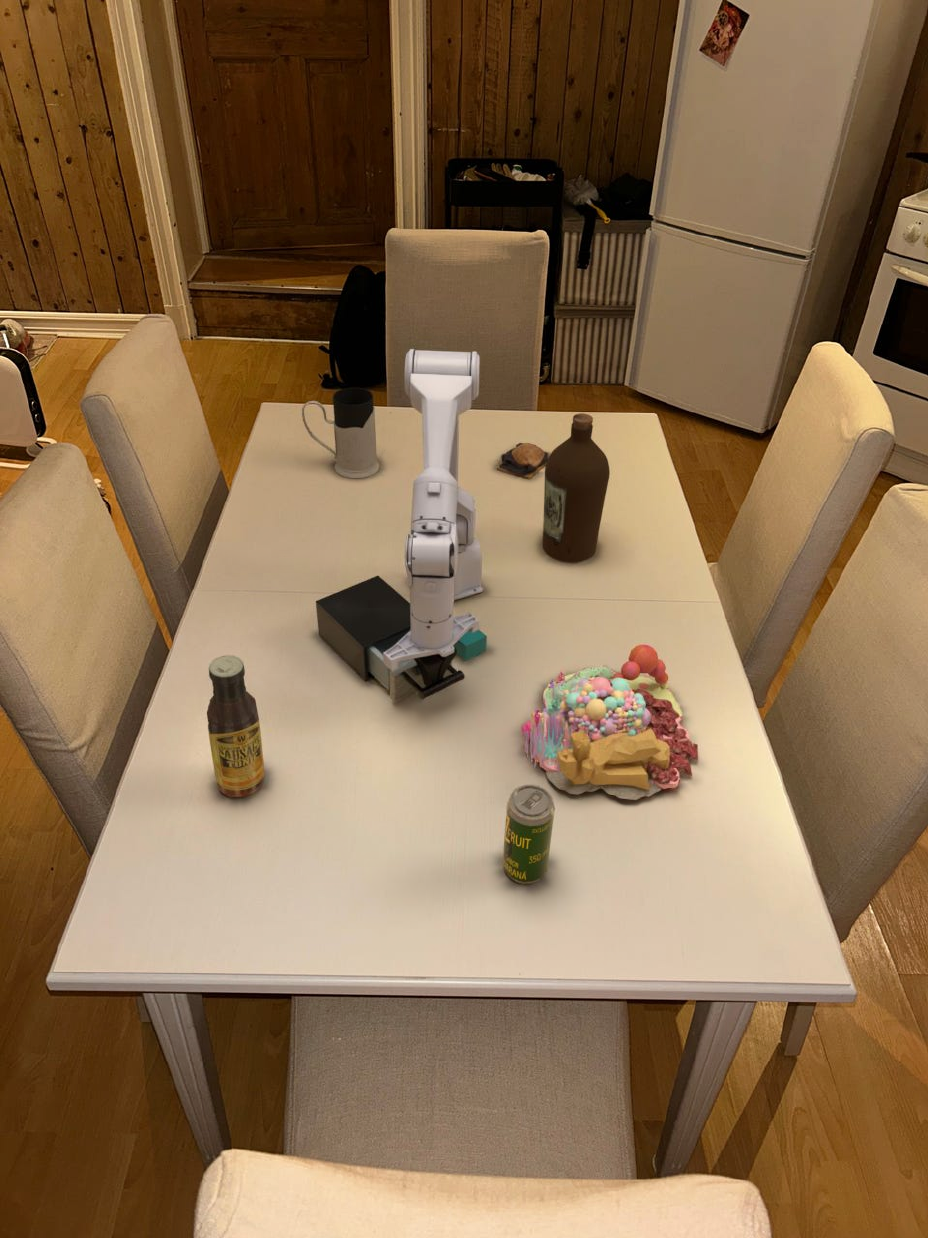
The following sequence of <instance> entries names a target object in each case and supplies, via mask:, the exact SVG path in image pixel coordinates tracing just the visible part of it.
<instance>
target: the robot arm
mask: <svg viewBox="0 0 928 1238" xmlns="http://www.w3.org/2000/svg"><path fill="white" fill-rule="evenodd" d="M480 367H481V355H479V353H478V352H477V351H472V352H471V351H470V352H469V351H445V350H423V349H422V350H418V349H416V350H415V349H414V348H410V349H409V351H407V353H405V359H404V393H405V394H406V395H407V396H408V398H409V399H410V405H411V407H412V408H413V409H414V410H416V411H418V413H419V414H421V416H422V417H421V420H422V421H421V423H422V424H421V426H422V427H421V428H422V458H423V470H422V471H421V472H420V473H419V474H418V475H417V476H416V477H415V478H414V480H413V482H412V483H413V484H412V499H411V518H410V531H409V532H410V533H407V534H406V539H405V544H404V545H405V546H404V566H405V572H406V576H407V577H406V578H407V587H408V588H409V603H410V621H411V630H410V631H409V632H408V633H407V634H406V635H405V636H404V637H403V638H402V639H401V640H400V641H398V642H397V643H396V644H395V645H394V646H393V647H392V648H390V649H389V650H387V651H385V652H383V660H384V664H385V665H386V666H387V667H388V668H389V669H390V670H391V671H393V670H395V669H397V668H398V664H399V663H401V662H404V661H406V660H408V659H413V658H414V660H415V662H416V663H417V665H418V667H419V670H420V672H421V675H422V678H423V682H424V685H426V686H428V685H430V684H432V683H434V682H436V681H438V680H440V679H442V678H443V676H444V674H445V672H446V669H447V668H448V666H449V664H450V663H451V661H452V662H453V660H454V659H455V658H456V657H457V655H458V654H457V649H456V647H455V646H453V645H454V644H455V643H456V642H457V641H458V640H459V639H460V638H461V637H462V636H463V635H464V634H465V633H466V632H467V631H470V632H475V631H477V630H478V629H479V618H477V617H476V616H475V615H473V614H472V613H471V612H467V613H466V614H463V615H462V614H461V615H458V616H454V603H455V602H454V601H457V600H460V599H465V598H467V597H470V596H473V595H477V594H481V593H483V592H484V588H483V587H482V575H483V573H482V572H483V554H482V549H481V545H480V543H479V541H478V539H477V538H476V536H475V534H476V512H477V511H476V499H474V495H473V494H471V493H470V492H469V491H467V490H465V489H463V488H461V487H460V486H459V444H460V443H459V442H460V415H462V414H464V413H466V412H467V411H469V410H471V408H472V401H475V400H476V399H477V398H478V397H479V391H480V371H481V369H480Z"/></svg>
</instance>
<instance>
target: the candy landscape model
mask: <svg viewBox="0 0 928 1238" xmlns="http://www.w3.org/2000/svg"><path fill="white" fill-rule="evenodd" d="M666 669H667V666H666V663H665V661H663V660H662V659H660V658H659V655H658V652H657V651H656V650H655V648H654V647H653V646H651V645H649V644H638V645H636V646H635V647H634V648H632V649H631V650H630V653H629V656H628V661H626V662H624V663H623V664H622V666H621V668H620V672H616V671H615V670H614V669H612V668H611V666H610V665H608V664H607V665H605V664H604V665H599V666H589V667H585V668H582V670H579V671H578V672H575V673H574V672H573V673H569V674H568V675H564V672H563V670H562V669H560V671H559V674H558V675H557V678H558V679H556V680H555V681H554V680H553V679H551V681H550V683H549V684H548V685H547V686H546V688H545V689H544V690H543V695H542V703H543V704H544V708H543V709H542V712H540V708H538V709H536V710H534V712H532V713H531V716H530V720H527V721H526V722H525V724H523V725H522V726H521V732H522V733H523V743H525V744H524V745H525V748H524V754H526V759H528V758H529V752H530V763H532V764H533V759H534V767H533V768H534V769H536V768H537V765H538V764H539V767H540V768H542V769H543V770H544V771H545V774H546V778H547V779H548V780H549V781H550V783H552V784H553V785H554V786H555V788H557V789H558V790H560V791H561V790H562V791H565V792H567V793H568V794H570V795H581V794H583V793H584V792H589V793H593V792H595V791H597V790H600V789H601V790H603V791H604V792H605V793H606V794H608V795H612V796H616V798H619V799H624V800H633V801H637V800H639V799H641V798H642V797H651V796H652V795H655V794H657V793H659V792H660V791H661V790H663V789H664V790H666V789H668V788H671V789H675V788H678V786H679V784H680V783H681V779H680V773H681V774H684V775H688V776H692V777H693V772H692V766H691V762H690V761H689V759H690V758H691V759H693V760H696V761H698V759H699V752H698V751H699V747H698V745H699V744H697V743H694V742H692V741H691V739H690V731H689V730H687V729H686V728H684V727H683V726H682V725H681V720H682V719H683V715H684V713H683V712H682V710H681V707H680V706H681V705H680V703H679V702H678V701H676V698H675V696H674V695H673V691H671V689H669V688H668V686H669V684H668V681H669V674H668V673H667V672H666ZM640 674H647V675H648V676H649V677H647V676H641V675H640ZM650 677H652V678H654V679H651V678H650Z"/></svg>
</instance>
